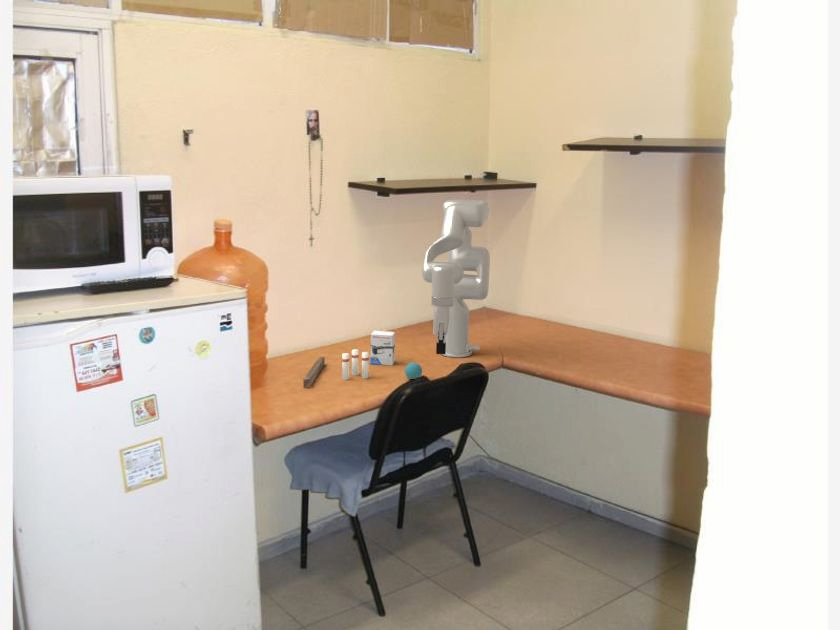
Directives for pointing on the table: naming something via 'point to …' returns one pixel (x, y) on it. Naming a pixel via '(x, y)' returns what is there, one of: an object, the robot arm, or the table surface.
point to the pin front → (365, 365)
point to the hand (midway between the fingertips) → (440, 353)
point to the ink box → (382, 348)
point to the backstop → (313, 372)
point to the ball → (413, 370)
